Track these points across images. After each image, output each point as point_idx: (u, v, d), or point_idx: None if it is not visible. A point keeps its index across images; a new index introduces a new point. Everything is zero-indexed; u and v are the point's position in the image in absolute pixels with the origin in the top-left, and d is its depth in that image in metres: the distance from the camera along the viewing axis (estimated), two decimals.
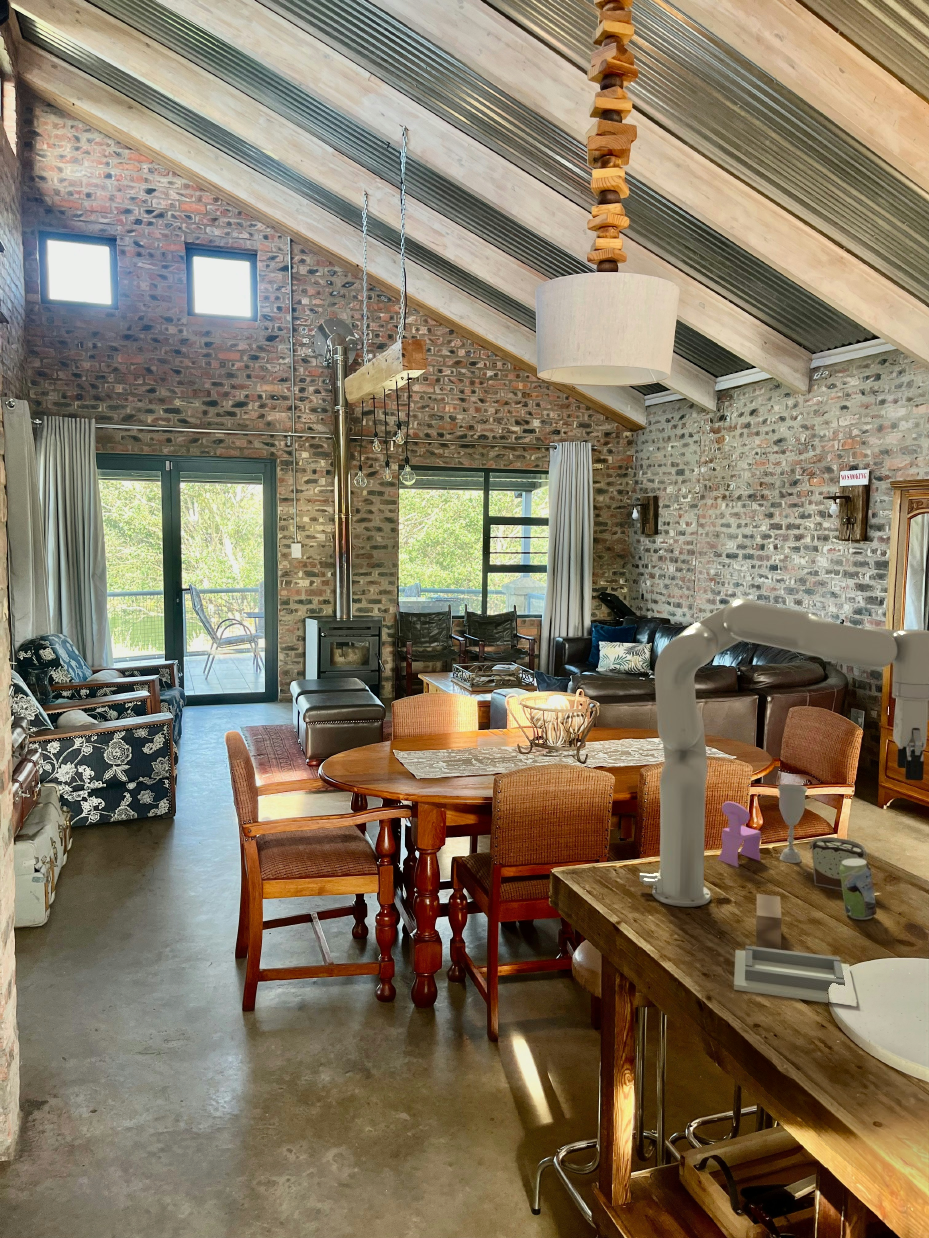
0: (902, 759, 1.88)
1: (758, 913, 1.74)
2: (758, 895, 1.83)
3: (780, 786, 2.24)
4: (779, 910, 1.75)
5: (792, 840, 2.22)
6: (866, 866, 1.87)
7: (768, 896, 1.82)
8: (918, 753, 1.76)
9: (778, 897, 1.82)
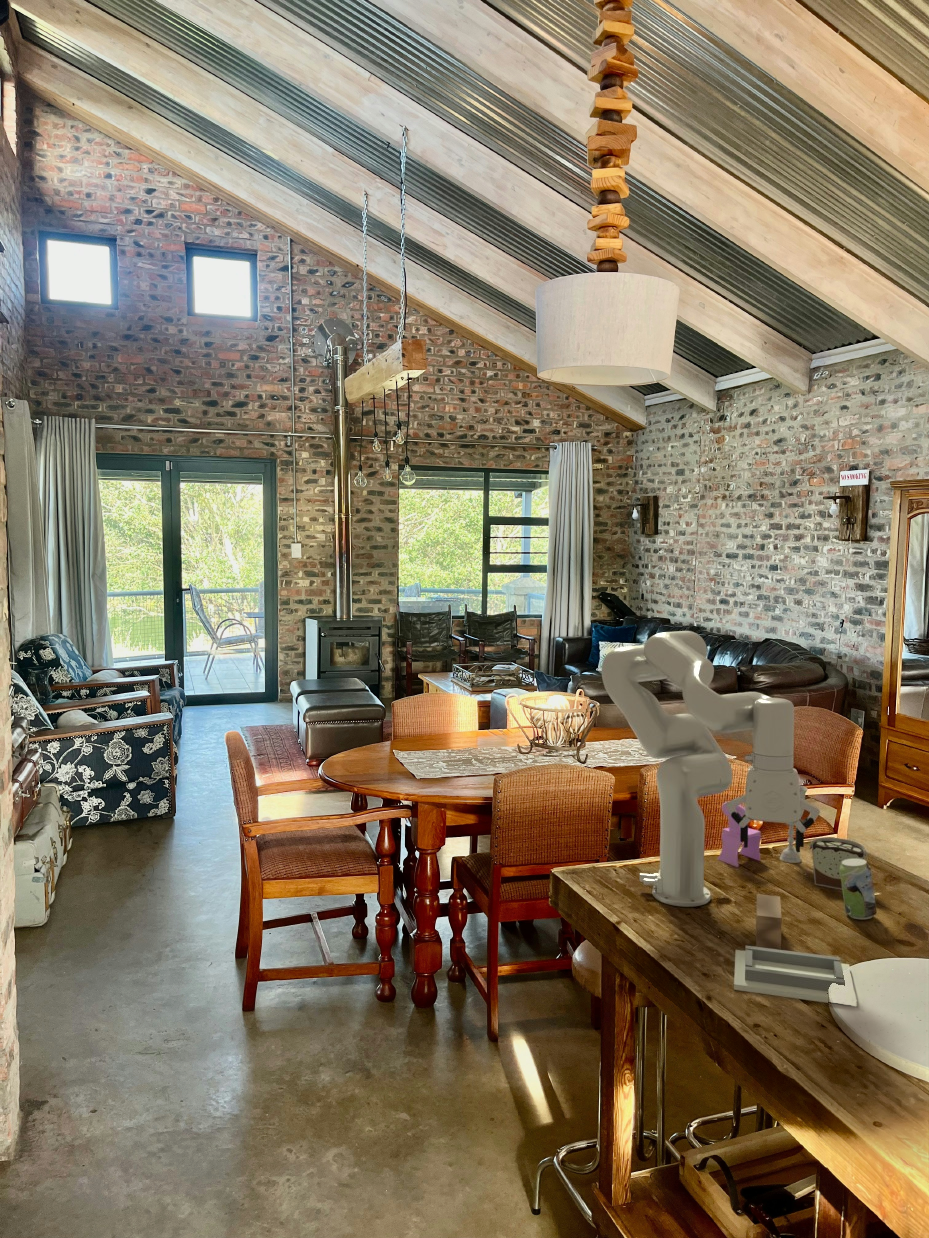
0: (747, 837, 1.77)
1: (758, 913, 1.74)
2: (758, 895, 1.83)
3: None
4: (779, 910, 1.75)
5: (792, 840, 2.22)
6: (866, 866, 1.87)
7: (768, 896, 1.82)
8: (813, 820, 1.74)
9: (778, 897, 1.82)
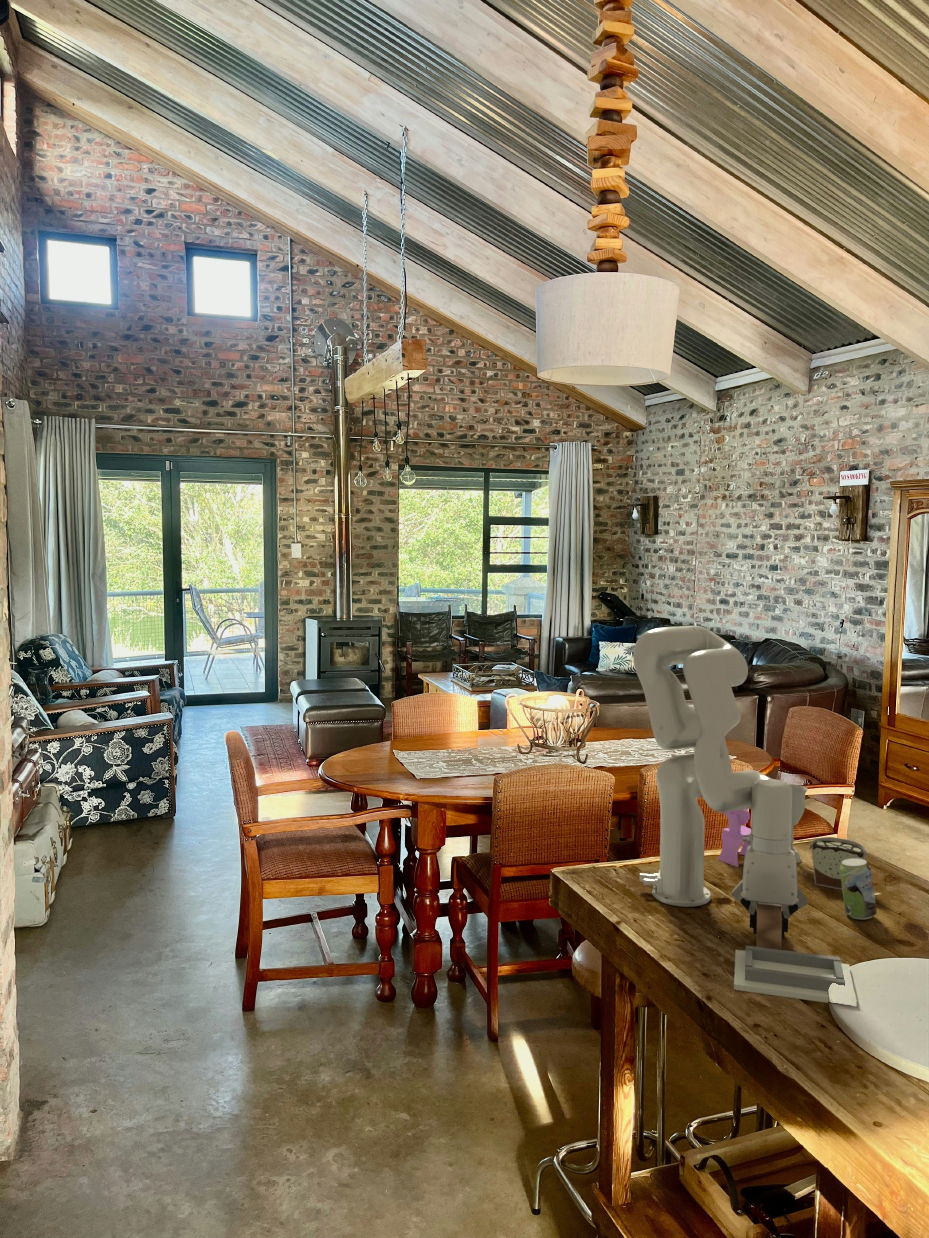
0: None
1: (758, 913, 1.74)
2: None
3: None
4: (779, 910, 1.75)
5: (792, 840, 2.22)
6: (866, 866, 1.87)
7: None
8: None
9: None
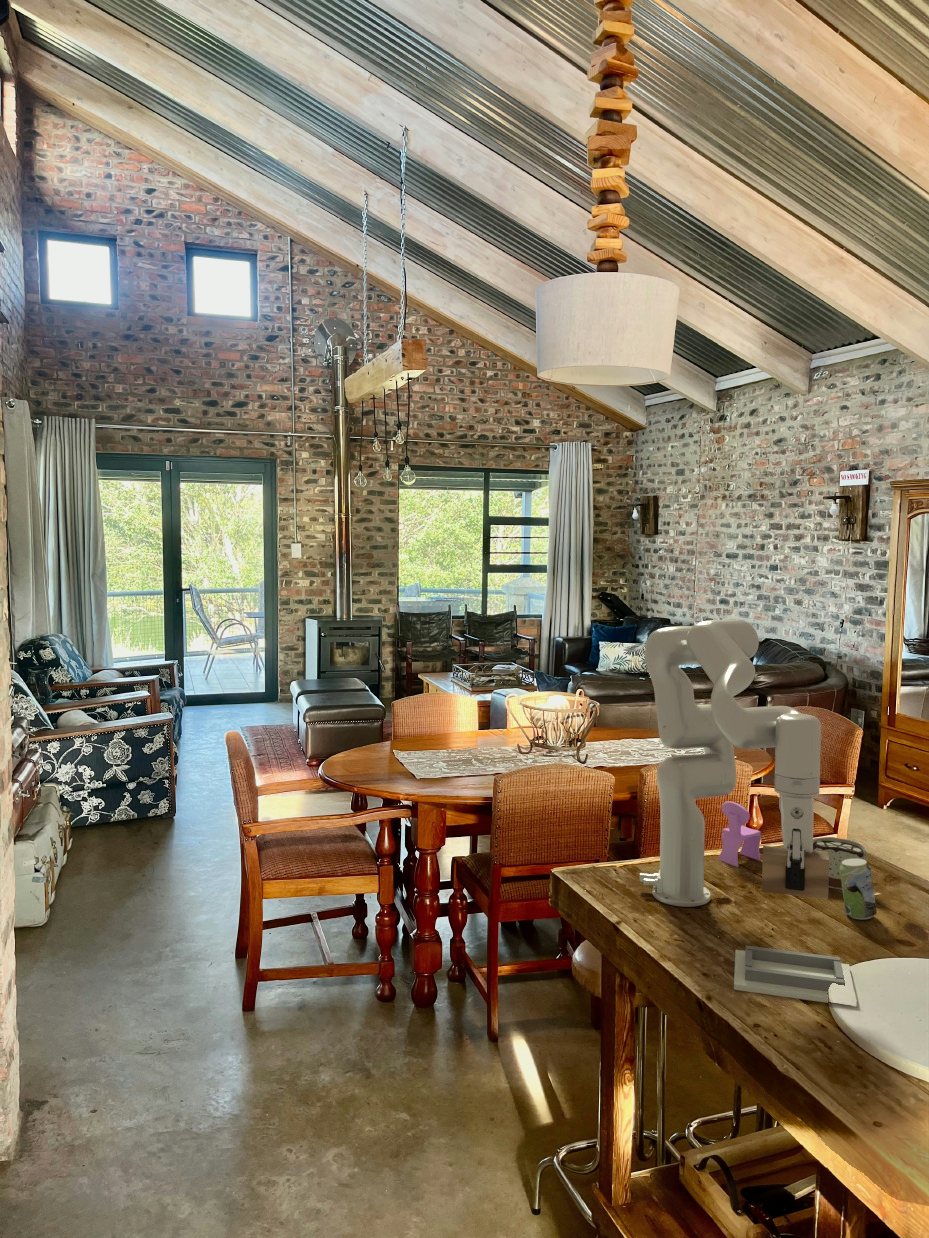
0: None
1: (823, 859, 1.57)
2: (767, 853, 1.61)
3: None
4: None
5: None
6: (866, 866, 1.87)
7: (767, 849, 1.62)
8: None
9: (766, 846, 1.64)
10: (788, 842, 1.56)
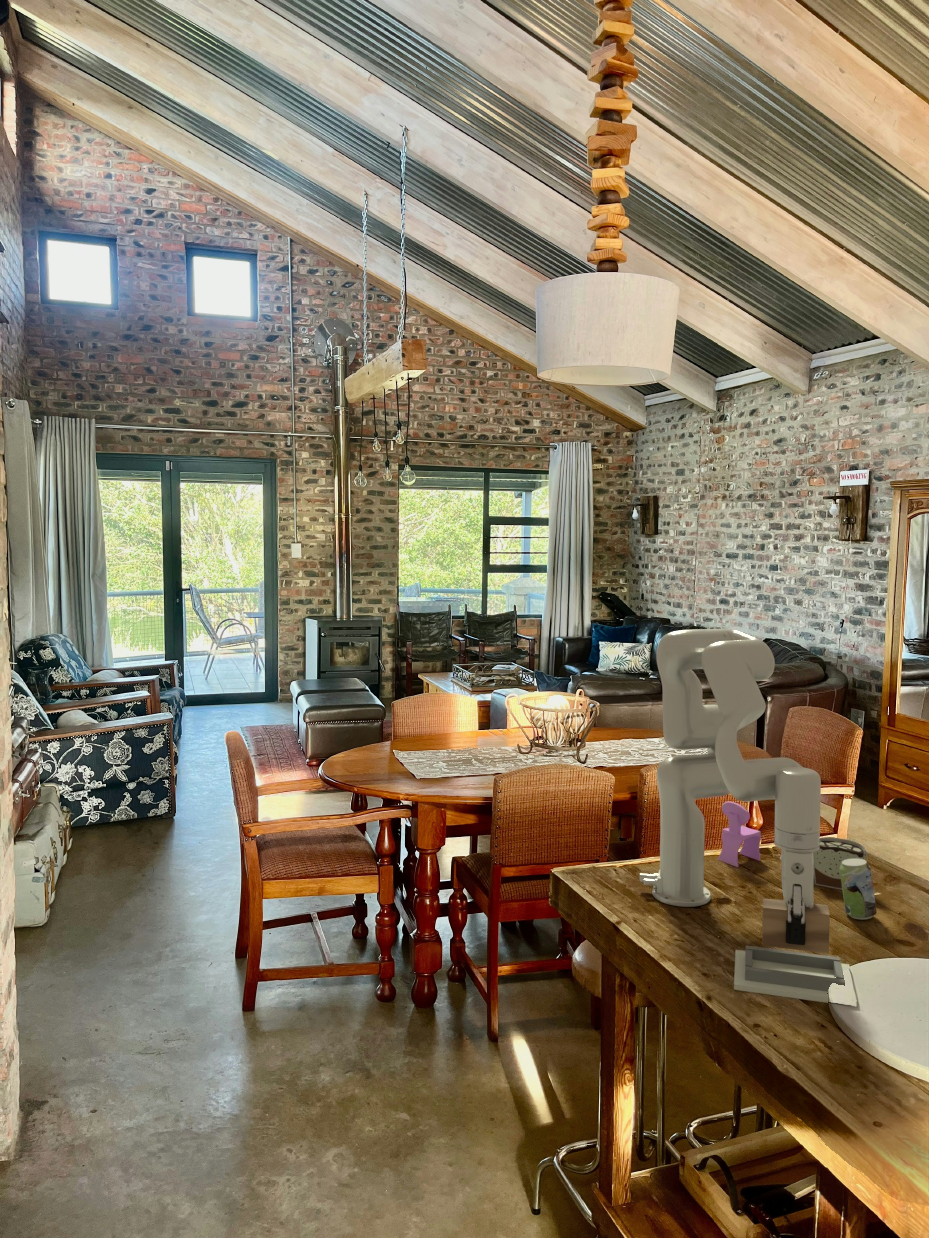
0: None
1: (823, 913, 1.57)
2: (767, 907, 1.60)
3: None
4: None
5: None
6: (866, 866, 1.87)
7: (767, 903, 1.62)
8: None
9: (766, 899, 1.64)
10: (789, 897, 1.56)
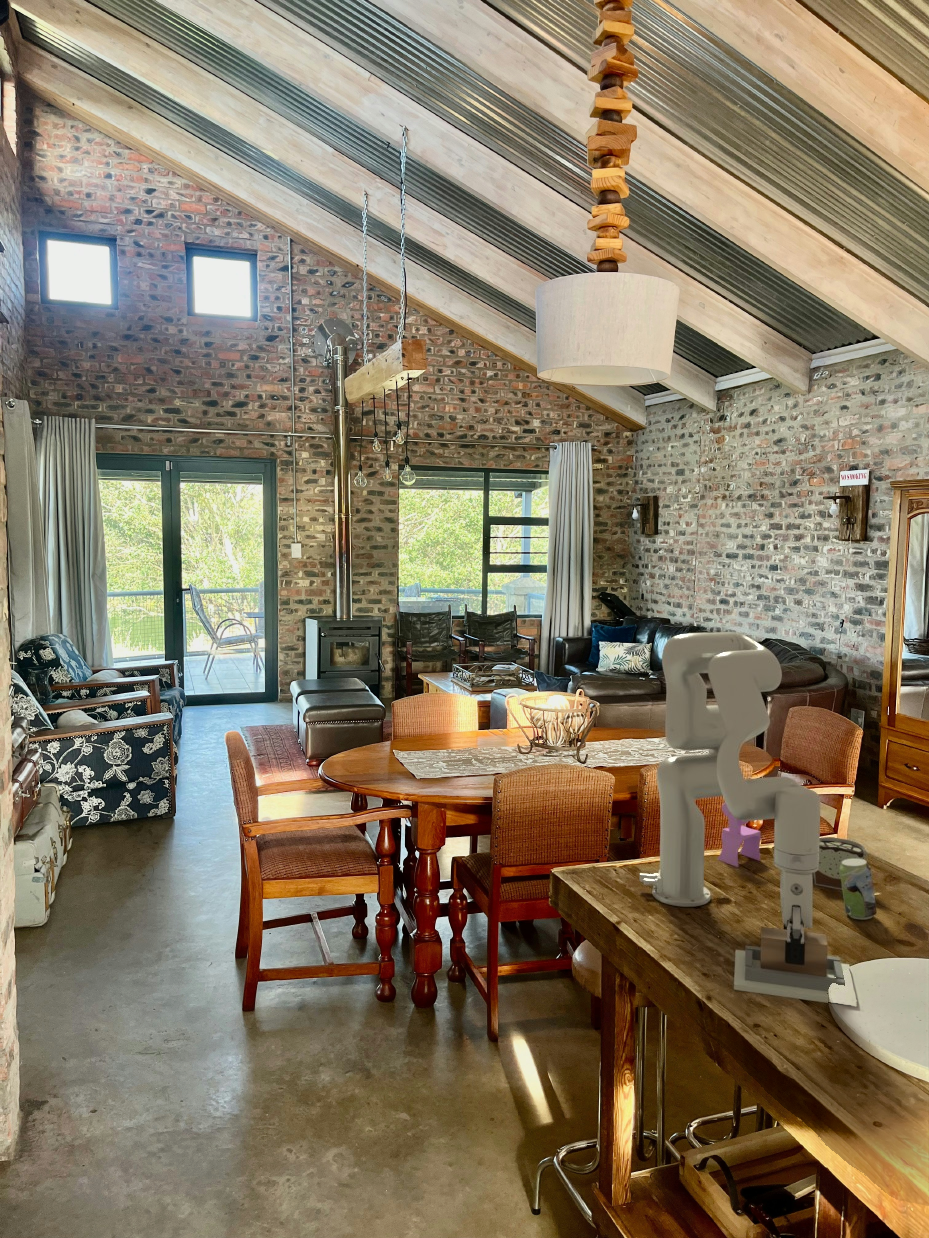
0: None
1: (821, 943, 1.58)
2: (765, 936, 1.61)
3: None
4: (804, 932, 1.63)
5: None
6: (866, 866, 1.87)
7: (765, 932, 1.63)
8: None
9: (764, 927, 1.65)
10: (788, 911, 1.56)
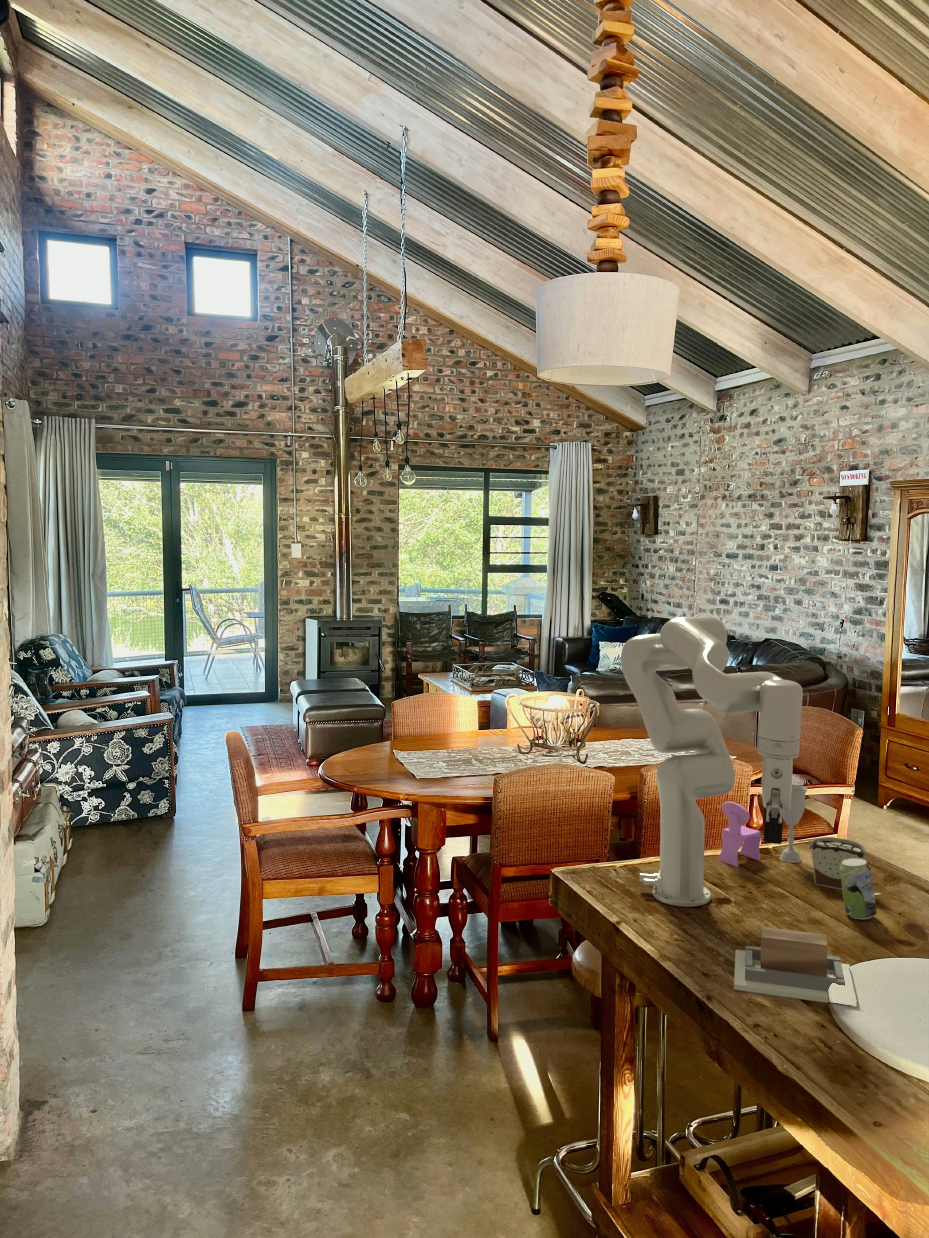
0: None
1: (821, 943, 1.58)
2: (765, 936, 1.61)
3: None
4: (804, 932, 1.63)
5: (792, 840, 2.22)
6: (866, 866, 1.87)
7: (765, 932, 1.63)
8: None
9: (764, 927, 1.65)
10: (768, 793, 1.66)
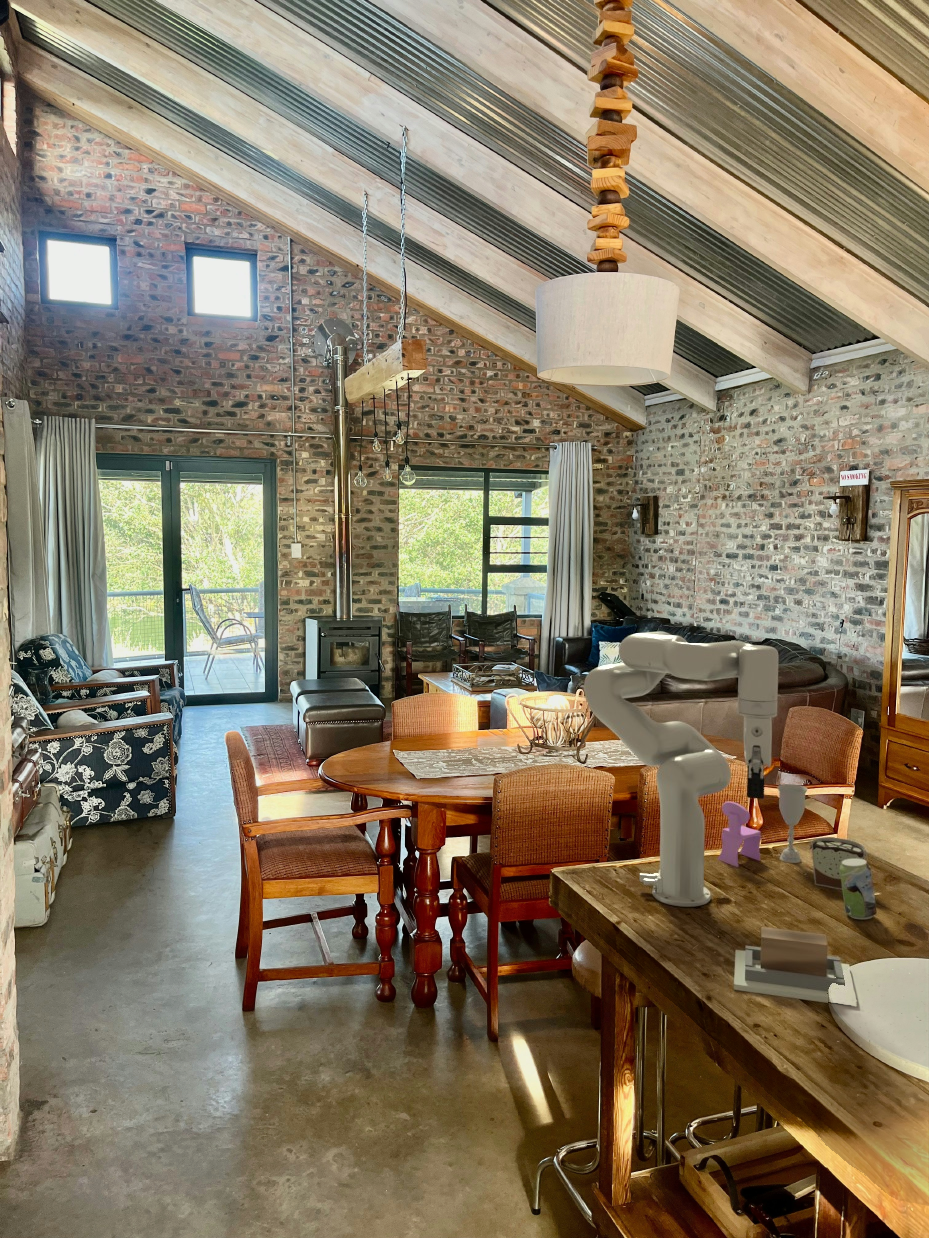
0: None
1: (821, 943, 1.58)
2: (765, 936, 1.61)
3: (780, 786, 2.24)
4: (804, 932, 1.63)
5: (792, 840, 2.22)
6: (866, 866, 1.87)
7: (765, 932, 1.63)
8: None
9: (764, 927, 1.65)
10: (749, 750, 1.76)
